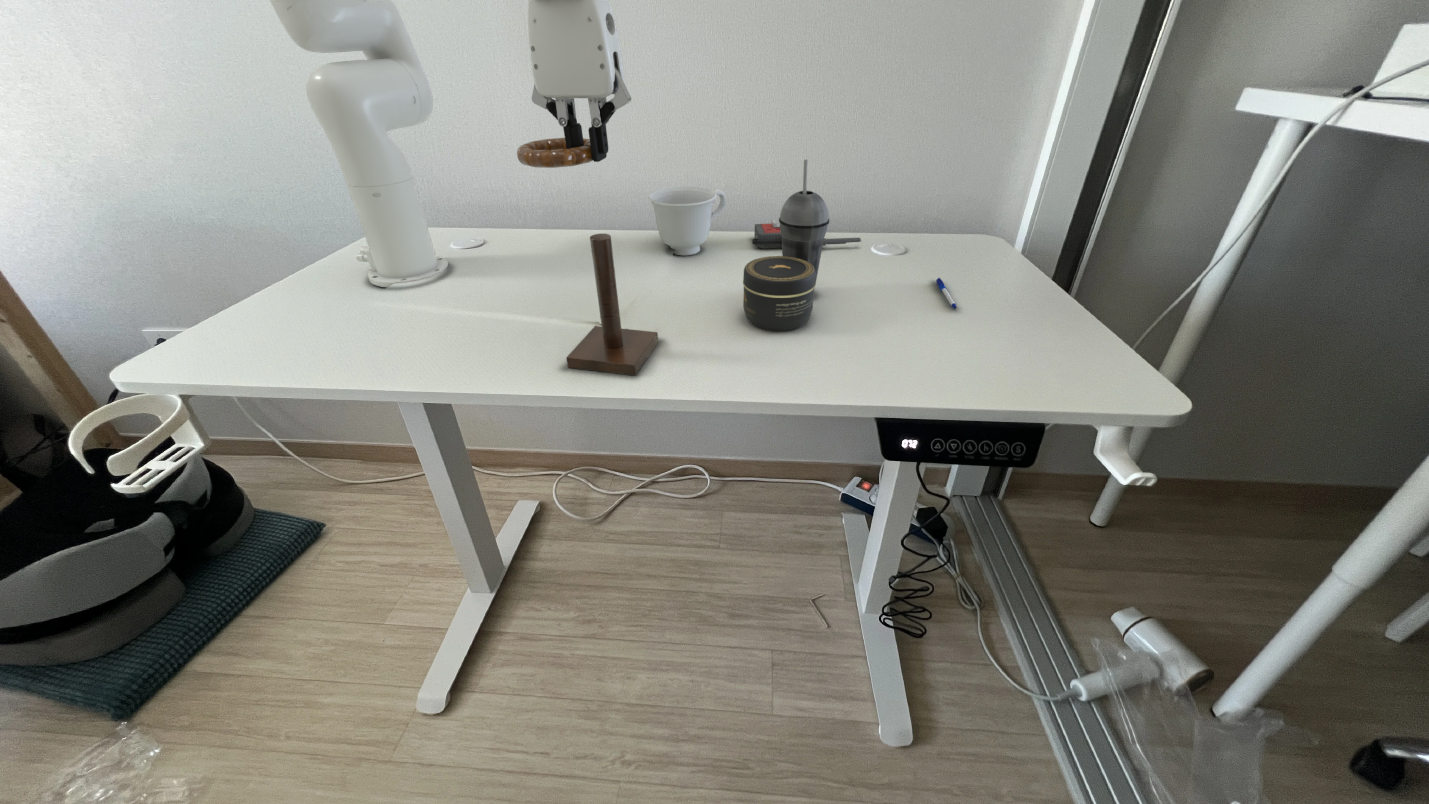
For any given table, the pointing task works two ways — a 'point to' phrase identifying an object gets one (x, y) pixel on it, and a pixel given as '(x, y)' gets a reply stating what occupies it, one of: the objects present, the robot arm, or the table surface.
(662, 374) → the table surface
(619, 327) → the post
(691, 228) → the teacup
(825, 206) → the beverage cup
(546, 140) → the ring
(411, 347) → the table surface
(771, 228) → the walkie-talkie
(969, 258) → the table surface
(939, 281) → the blue marker pen
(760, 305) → the jar
